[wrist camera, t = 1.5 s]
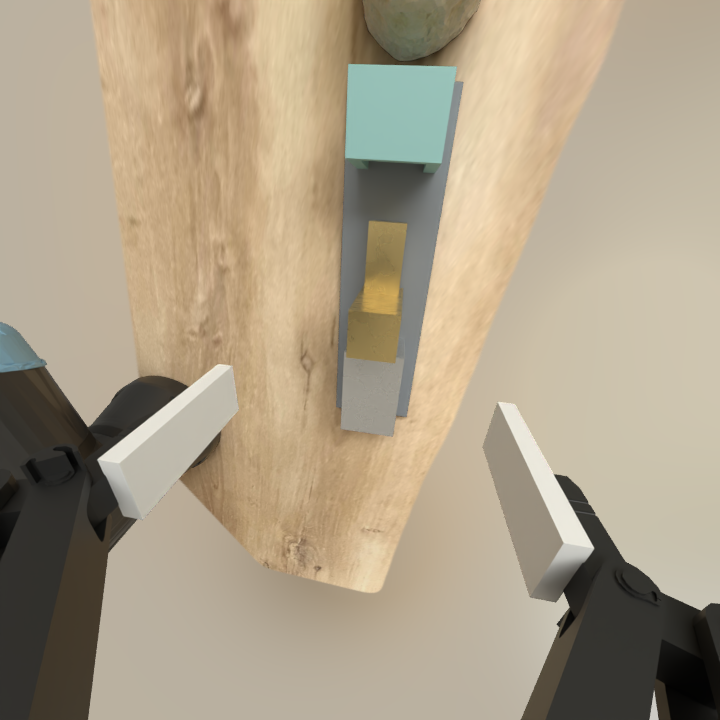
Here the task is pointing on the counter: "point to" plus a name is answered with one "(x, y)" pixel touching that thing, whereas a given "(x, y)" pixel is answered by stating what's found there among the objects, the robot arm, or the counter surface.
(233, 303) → the counter surface
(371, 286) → the gold stepped block
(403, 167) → the slate board
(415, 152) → the socket
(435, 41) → the sponge
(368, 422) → the grey rectangular sleeve
